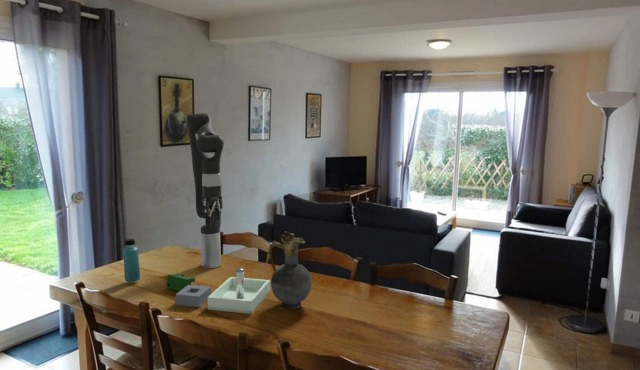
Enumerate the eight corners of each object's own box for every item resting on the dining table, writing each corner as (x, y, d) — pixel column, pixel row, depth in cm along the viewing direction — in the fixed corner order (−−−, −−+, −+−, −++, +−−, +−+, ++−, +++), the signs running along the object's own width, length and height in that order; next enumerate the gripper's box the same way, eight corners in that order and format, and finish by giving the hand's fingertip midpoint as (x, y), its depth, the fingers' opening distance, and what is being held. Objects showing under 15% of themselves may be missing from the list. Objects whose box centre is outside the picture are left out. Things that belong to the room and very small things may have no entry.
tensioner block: (188, 295, 180) (188, 284, 179) (211, 297, 178) (210, 286, 177) (176, 305, 170) (175, 294, 169) (199, 307, 168) (199, 296, 167)
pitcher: (299, 315, 162) (299, 238, 157) (260, 303, 172) (259, 230, 167) (315, 305, 171) (316, 231, 166) (277, 294, 181) (277, 224, 176)
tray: (230, 287, 188) (230, 276, 187) (270, 291, 184) (270, 280, 183) (207, 309, 166) (207, 297, 166) (252, 313, 163) (251, 301, 162)
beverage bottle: (136, 285, 189) (134, 241, 186) (121, 285, 190) (119, 241, 186) (143, 280, 196) (140, 237, 193) (128, 280, 196) (126, 237, 193)
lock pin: (238, 295, 177) (237, 267, 175) (245, 296, 176) (245, 268, 175) (235, 298, 174) (234, 270, 172) (242, 299, 173) (242, 270, 171)
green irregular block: (190, 298, 187) (199, 280, 186) (180, 299, 182) (188, 281, 181) (173, 282, 193) (182, 265, 192) (163, 283, 188) (172, 266, 186)
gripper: (210, 181, 184) (212, 218, 187) (194, 186, 171) (196, 226, 173) (227, 182, 183) (228, 219, 185) (212, 187, 169) (213, 227, 172)
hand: (213, 222), depth 179 cm, fingers open, 8 cm apart
